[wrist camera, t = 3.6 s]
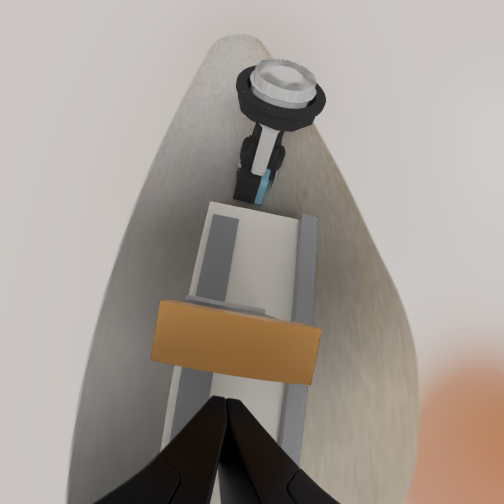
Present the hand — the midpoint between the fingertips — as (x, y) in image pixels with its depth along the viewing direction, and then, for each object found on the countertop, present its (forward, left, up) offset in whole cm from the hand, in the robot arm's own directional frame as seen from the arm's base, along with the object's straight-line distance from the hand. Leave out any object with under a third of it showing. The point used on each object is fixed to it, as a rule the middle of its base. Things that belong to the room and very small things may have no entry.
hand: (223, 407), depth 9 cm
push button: (+11, +13, -10) cm, 20 cm away
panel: (+2, +1, -10) cm, 10 cm away
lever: (+3, +4, -6) cm, 8 cm away
